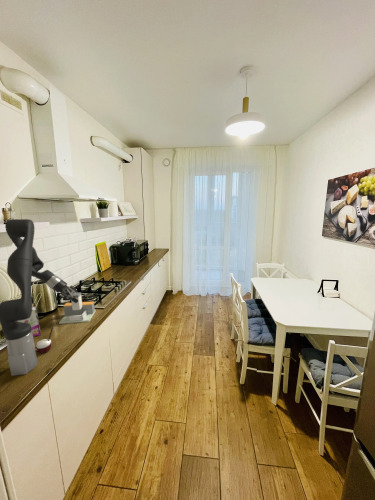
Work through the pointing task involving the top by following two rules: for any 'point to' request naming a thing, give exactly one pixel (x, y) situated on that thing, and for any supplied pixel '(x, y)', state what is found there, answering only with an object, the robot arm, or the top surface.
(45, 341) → the cocoa
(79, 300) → the white grey-topped block
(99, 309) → the top surface
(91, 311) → the orange-topped grey blocks
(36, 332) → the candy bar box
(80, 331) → the top surface
